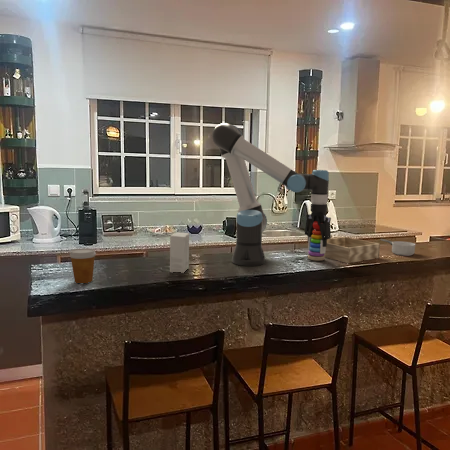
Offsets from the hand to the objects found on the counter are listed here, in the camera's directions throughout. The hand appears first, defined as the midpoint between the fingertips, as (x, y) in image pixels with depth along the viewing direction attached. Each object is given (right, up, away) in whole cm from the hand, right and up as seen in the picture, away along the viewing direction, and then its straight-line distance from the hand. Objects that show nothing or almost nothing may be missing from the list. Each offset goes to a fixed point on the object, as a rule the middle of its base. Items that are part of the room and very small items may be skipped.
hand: (316, 251), depth 206 cm
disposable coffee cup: (-97, -9, -41) cm, 105 cm away
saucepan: (+46, -2, +20) cm, 50 cm away
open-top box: (+17, -3, +10) cm, 20 cm away
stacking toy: (0, -4, 0) cm, 4 cm away
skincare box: (-62, -7, -23) cm, 66 cm away
